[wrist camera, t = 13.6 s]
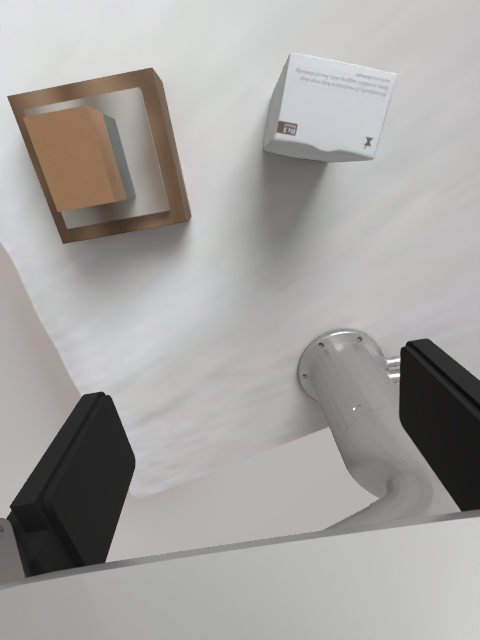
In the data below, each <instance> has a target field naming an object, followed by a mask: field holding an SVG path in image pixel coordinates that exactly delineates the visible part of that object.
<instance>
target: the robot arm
mask: <svg viewBox="0 0 480 640" xmlns="http://www.w3.org/2000/svg"><path fill="white" fill-rule="evenodd" d="M319 343H320V344H319ZM393 366H394V367H396V366H400V369H396V370H393V371H388V370H387V369H388V367H393ZM298 375H299V379H300V382H301V385H302V387H303V389H304V390H305V392H306V393H307V394H308V395H309V396H310V397H311V398H313V399H314V400H316V401H318V402H320V404H321V407H322V409H323V412H324V414H325V417H326V419H327V422H328V424H329V427H330V429H331V431H332V434H333V437H334V439H335V442H336V444H337V447H338V449H339V451H340V453H341V456H342V458H343V461H344V463H345V466H346V468H347V470H348V471H349V473H350V474H351V476H352V477H353V478H354V479H355V481H357V482H358V484H359V485H360V486H362V487H363V488H364V489H366V490H367V491H368V492H370V493H372V494H373V495H375V496H377V497H378V498H380V499H379V500H377V501H375V502H373V503H372V504H370V506H368V507H367V508H364V509H363V510H361V511H359V512H357V513H355V514H353V515H351V516H349V517H347V518H345V519H344V520H342V521H340V522H338V523H336V524H334V525H332V526H330V527H328V528H326V529H325V530H323V531H317V532H309V533H302V534H295V535H288V536H282V537H274V538H268V539H261V540H254V541H248V542H240V543H233V544H226V545H220V546H213V547H206V548H200V549H193V550H186V551H180V552H173V553H167V554H160V555H153V556H146V557H140V558H134V559H127V560H120V561H114V562H108V563H105V561H106V558H107V555H108V552H109V549H110V545H111V542H112V539H113V536H114V533H115V530H116V526H117V523H118V520H119V517H120V514H121V511H122V507H123V504H124V501H125V498H126V495H127V492H128V489H129V485H130V482H131V479H132V476H133V473H134V470H135V456H134V454H133V451H132V448H131V446H130V443H129V441H128V438H127V436H126V433H125V431H124V428H123V426H122V423H121V420H120V418H119V415H118V413H117V410H116V408H115V405H114V403H113V400H112V398H111V396H109V395H106V394H105V393H104V392H97V393H90V394H85V395H83V396H82V397H81V399H80V401H79V402H78V403H77V405H76V406H75V408H74V410H73V411H72V413H71V414H70V416H69V417H68V419H67V420H66V422H65V423H64V425H63V426H62V428H61V429H60V431H59V432H58V434H57V435H56V437H55V438H54V440H53V442H52V443H51V445H50V446H49V447H48V449H47V451H46V452H45V454H44V455H43V457H42V458H41V460H40V461H39V463H38V464H37V466H36V467H35V469H34V471H33V472H32V474H31V475H30V476H29V478H28V479H27V481H26V482H25V484H24V486H23V487H22V489H21V490H20V492H19V493H18V495H17V496H16V498H15V499H14V501H13V502H12V504H11V505H10V508H11V510H12V511H11V512H10V514H9V516H8V517H7V519H4V518H0V640H480V380H478V379H477V378H476V377H474V376H473V375H472V374H471V373H470V372H469V371H467V370H466V369H465V368H464V367H462V366H461V365H460V364H459V363H457V362H456V361H455V360H454V359H453V358H451V357H450V356H449V355H448V354H446V353H445V352H444V351H443V350H442V349H440V348H439V347H438V346H437V345H435V344H434V343H433V342H432V341H431V340H429V339H420V340H414V341H408V342H407V343H406V346H405V347H402V348H401V352H400V356H395V357H392V358H385V357H383V353H382V351H381V349H380V347H379V346H378V345H377V343H376V342H375V341H374V340H373V339H372V338H371V337H369V336H368V335H366V334H364V333H362V332H359V331H356V330H349V329H342V330H336V331H332V332H329V333H326V334H324V335H322V336H320V337H318V338H317V339H316V340H314V341H313V342H312V343H311V344H310V345H309V346H308V347H307V348H306V350H305V351H304V353H303V354H302V356H301V359H300V362H299V367H298ZM397 382H400V390H399V389H398V387H397V386H396V385H395V384H394V383H397Z"/></svg>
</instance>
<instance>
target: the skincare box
mask: <svg viewBox="0 0 480 640" xmlns="http://www.w3.org/2000/svg"><path fill="white" fill-rule="evenodd" d="M396 78H397V74H395V73H391V72H386V71H382V70H377V69H373V68H369V67H364V66H360V65H355V64H351V63H346V62H341V61H336V60H330V59H325V58H321V57H316V56H310V55H305V54H299V53H293V52H291V53H290V55H289V57H288V59H287V61H286V63H285V65H284V67H283V70H282V73H281V75H280V77H279V79H278V82H277V84H276V86H275V89H274V91H273V93H272V98H271V104H270V109H269V115H268V121H267V127H266V133H265V139H264V145H263V151H266V152H270V153H274V154H278V155H283V156H288V157H294V158H301V159H309V160H318V161H322V162H327V163H330V162H349V161H366V160H373V159H374V158H375V154H376V150H377V147H378V143H379V140H380V136H381V133H382V129H383V125H384V122H385V118H386V114H387V111H388V107H389V103H390V99H391V96H392V92H393V89H394V85H395V82H396Z"/></svg>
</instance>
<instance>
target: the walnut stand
mask: <svg viewBox="0 0 480 640" xmlns="http://www.w3.org/2000/svg"><path fill="white" fill-rule="evenodd" d="M7 97H8V100H9V102H10V105H11V107H12V110H13V113H14V115H15V118H16V121H17V123H18V126H19V129H20V131H21V134H22V137H23V139H24V142H25V144H26V147H27V150H28V152H29V155H30V158H31V160H32V163H33V166H34V168H35V171H36V173H37V176H38V179H39V181H40V184H41V187H42V189H43V192H44V195H45V197H46V200H47V203H48V205H49V208H50V210H51V213H52V216H53V218H54V221H55V224H56V226H57V229H58V232H59V234H60V237H61V239H62V242H63V244H65V243H71V242H76V241H82V240H87V239H93V238H98V237H104V236H109V235H115V234H120V233H126V232H131V231H137V230H143V229H148V228H154V227H159V226H165V225H170V224H176V223H181V222H187V221H188V220H189V219H190V217H191V212H190V207H189V202H188V198H187V193H186V189H185V184H184V180H183V175H182V170H181V166H180V161H179V157H178V152H177V148H176V143H175V138H174V134H173V129H172V125H171V120H170V116H169V111H168V107H167V102H166V97H165V93H164V88H163V84H162V81H161V79H160V78H159V76H158V75H157V74H156V72H155V71H154V69H153V68H148V69H143V70H137V71H132V72H127V73H122V74H117V75H112V76H107V77H102V78H97V79H92V80H87V81H82V82H77V83H72V84H67V85H62V86H57V87H52V88H47V89H42V90H37V91H32V92H27V93H22V94H17V95H12V96H7ZM85 105H87V106H89V107H91V108H93V109H95V110H97V111H99V112H101V113H103V114H105V115H107V116H109V117H111V118H113V119H115V121H116V125H117V128H118V132H119V136H120V139H121V143H122V147H123V150H124V154H125V158H126V161H127V165H128V169H129V172H130V176H131V180H132V183H133V187H134V191H135V194H136V197H133V198H129V199H125V200H121V201H117V202H111V203H106V204H100V205H95V206H89V207H84V208H78V209H73V210H67V211H61V212H57V209H56V206H55V204H54V201H53V198H52V195H51V193H50V190H49V187H48V185H47V182H46V179H45V176H44V174H43V171H42V168H41V166H40V163H39V160H38V157H37V155H36V152H35V149H34V147H33V144H32V141H31V138H30V136H29V133H28V130H27V127H26V125H25V122H24V119H23V117H27V116H33V115H38V114H43V113H48V112H54V111H59V110H64V109H69V108H74V107H80V106H85Z"/></svg>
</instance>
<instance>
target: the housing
mask: <svg viewBox="0 0 480 640" xmlns="http://www.w3.org/2000/svg"><path fill="white" fill-rule="evenodd" d="M23 119H24V122H25V125H26V127H27V130H28V133H29V136H30V138H31V141H32V144H33V147H34V149H35V152H36V155H37V157H38V160H39V163H40V166H41V168H42V171H43V174H44V176H45V179H46V182H47V185H48V187H49V190H50V193H51V195H52V198H53V201H54V204H55V206H56V209H57V212H61V211H67V210H73V209H78V208H84V207H89V206H95V205H100V204H106V203H111V202H117V201H121V200H125V199H129V198H133V197H136V194H135V191H134V187H133V183H132V180H131V176H130V172H129V169H128V165H127V161H126V158H125V154H124V150H123V147H122V143H121V139H120V136H119V132H118V128H117V125H116V121H115V119H113V118H111V117H109V116H107V115H105V114H103V113H101V112H99V111H97V110H95V109H93V108H91V107H89V106H87V105H85V106H80V107H74V108H69V109H64V110H59V111H54V112H48V113H43V114H38V115H33V116H27V117H23Z"/></svg>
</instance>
